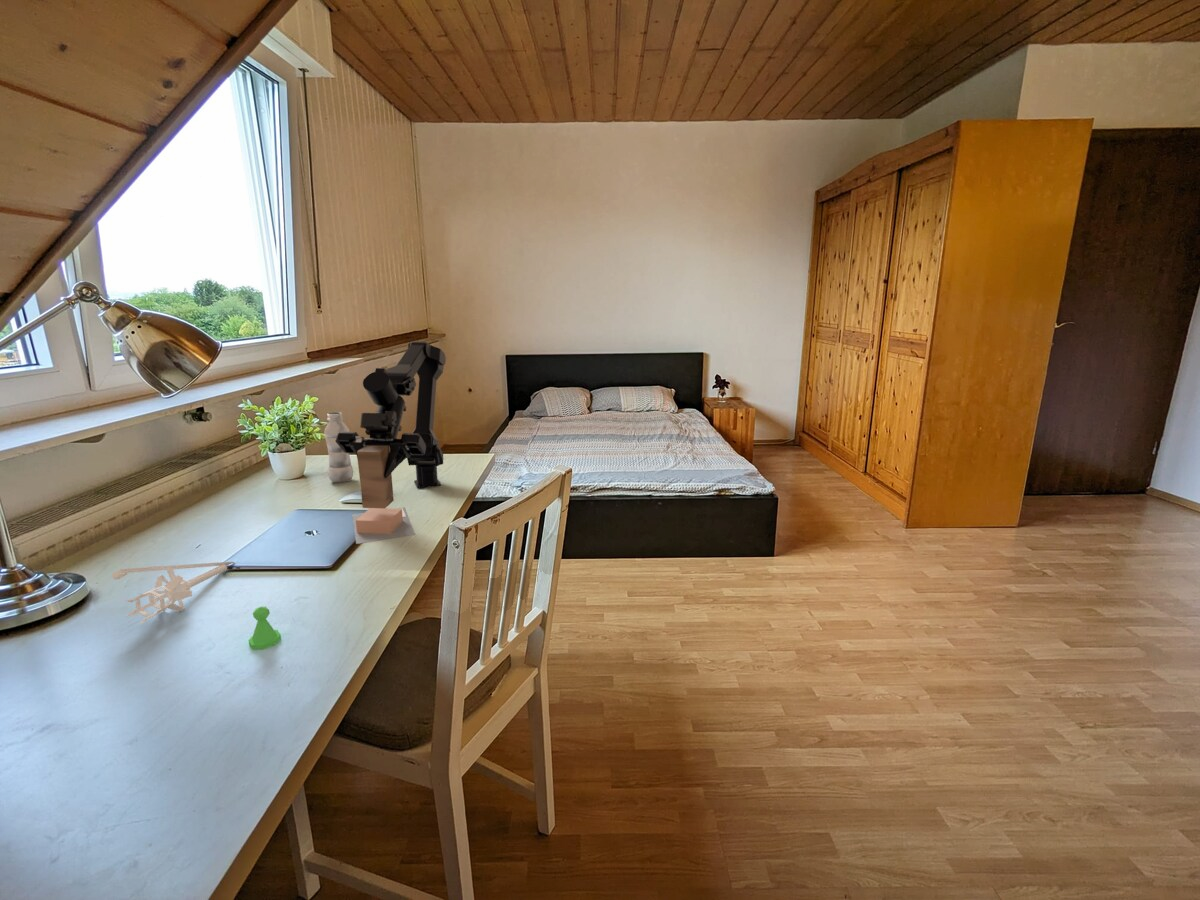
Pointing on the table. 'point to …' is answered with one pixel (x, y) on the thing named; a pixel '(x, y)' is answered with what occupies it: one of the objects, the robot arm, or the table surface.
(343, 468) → the plastic bottle
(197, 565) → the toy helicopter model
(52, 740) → the table surface
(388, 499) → the pillar
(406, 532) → the base board
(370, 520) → the plinth
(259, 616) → the game piece
